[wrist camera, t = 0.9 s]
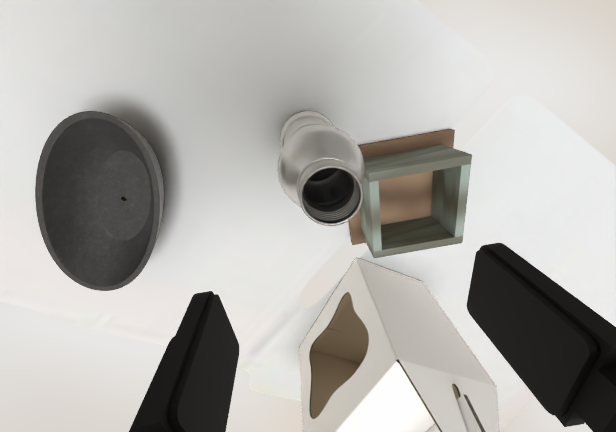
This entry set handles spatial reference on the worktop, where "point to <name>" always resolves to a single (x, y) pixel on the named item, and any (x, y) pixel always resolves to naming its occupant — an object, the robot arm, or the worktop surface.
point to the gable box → (391, 362)
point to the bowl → (99, 199)
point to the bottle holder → (412, 194)
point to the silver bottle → (321, 169)
